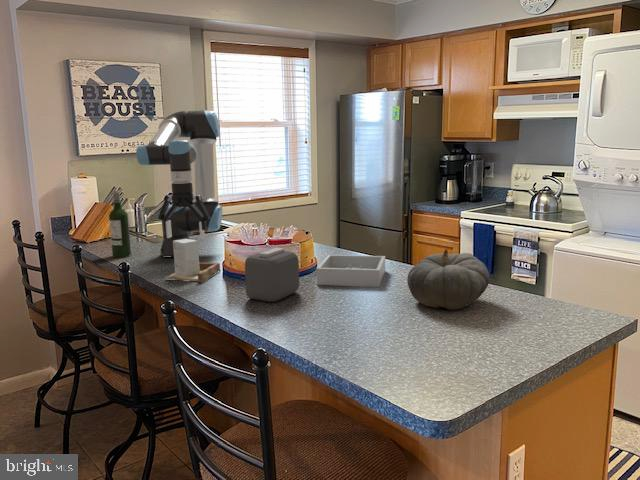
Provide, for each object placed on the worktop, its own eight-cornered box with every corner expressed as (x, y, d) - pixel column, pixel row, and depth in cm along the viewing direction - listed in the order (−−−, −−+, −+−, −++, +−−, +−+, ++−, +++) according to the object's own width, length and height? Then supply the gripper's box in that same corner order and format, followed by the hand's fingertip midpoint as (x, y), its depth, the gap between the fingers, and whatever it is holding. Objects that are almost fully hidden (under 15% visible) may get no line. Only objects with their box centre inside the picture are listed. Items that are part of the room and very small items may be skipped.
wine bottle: (109, 257, 249) (102, 191, 244) (120, 253, 257) (114, 189, 251) (124, 258, 247) (117, 191, 241) (134, 254, 254) (129, 189, 249)
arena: (183, 270, 222) (183, 262, 221) (220, 271, 219) (219, 263, 218) (163, 281, 205) (162, 272, 205) (202, 283, 202) (201, 273, 202)
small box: (200, 273, 212) (198, 240, 209) (186, 277, 207) (183, 243, 205) (188, 270, 218) (186, 238, 215) (174, 273, 213) (172, 240, 211)
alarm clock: (275, 288, 194) (273, 244, 191) (302, 292, 188) (301, 247, 185) (246, 300, 180) (244, 254, 177) (274, 305, 174) (272, 257, 171)
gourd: (491, 285, 181) (487, 236, 176) (492, 322, 159) (488, 267, 153) (414, 288, 189) (408, 241, 183) (406, 324, 166) (399, 271, 161)
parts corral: (328, 269, 218) (328, 254, 217) (385, 271, 214) (385, 256, 213) (316, 284, 197) (316, 268, 196) (379, 286, 192) (379, 270, 191)
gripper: (146, 183, 205) (151, 239, 209) (209, 183, 199) (212, 240, 204) (156, 181, 212) (160, 235, 216) (217, 181, 207) (220, 236, 211)
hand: (185, 238), depth 210 cm, fingers open, 13 cm apart
